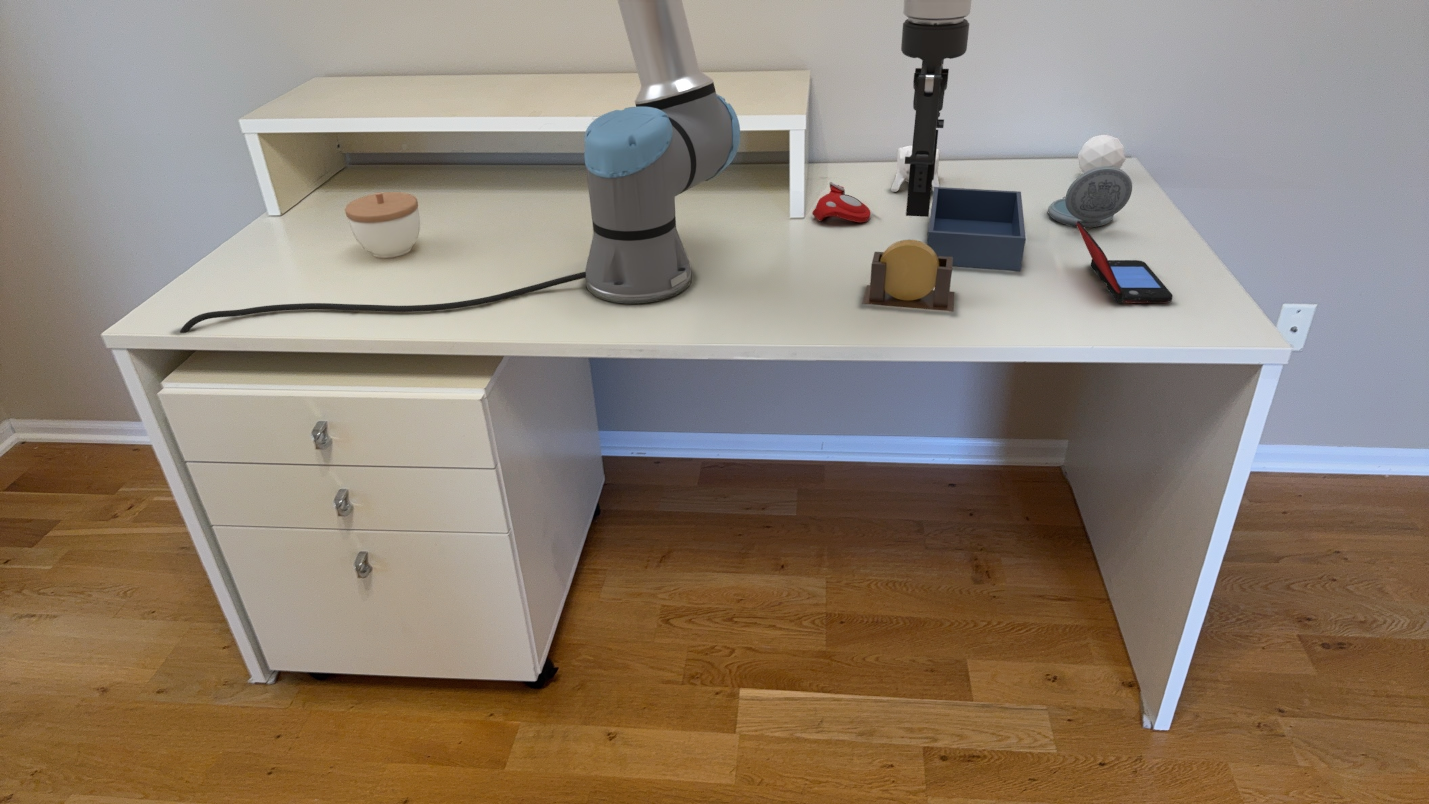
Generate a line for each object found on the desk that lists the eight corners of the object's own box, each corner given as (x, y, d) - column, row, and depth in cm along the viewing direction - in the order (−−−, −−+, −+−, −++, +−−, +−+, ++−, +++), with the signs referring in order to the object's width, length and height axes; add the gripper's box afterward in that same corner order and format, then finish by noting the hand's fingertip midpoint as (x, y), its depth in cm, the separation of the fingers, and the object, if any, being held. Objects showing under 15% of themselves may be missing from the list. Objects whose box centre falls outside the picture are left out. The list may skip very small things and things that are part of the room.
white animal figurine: (891, 193, 168) (890, 190, 154) (895, 145, 166) (894, 138, 152) (938, 195, 166) (942, 192, 152) (943, 147, 165) (947, 139, 150)
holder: (954, 295, 125) (959, 254, 122) (953, 314, 120) (958, 273, 117) (866, 288, 128) (869, 248, 125) (862, 306, 123) (864, 266, 120)
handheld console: (1174, 305, 121) (1188, 253, 117) (1090, 305, 121) (1102, 253, 117) (1142, 266, 131) (1154, 217, 127) (1066, 266, 132) (1075, 218, 128)
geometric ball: (1101, 190, 166) (1133, 153, 163) (1103, 188, 159) (1137, 150, 156) (1067, 164, 167) (1099, 127, 164) (1068, 161, 160) (1101, 123, 157)
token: (938, 300, 122) (939, 244, 118) (878, 300, 124) (876, 245, 120) (939, 294, 123) (939, 238, 119) (879, 294, 126) (878, 240, 121)
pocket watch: (1073, 167, 136) (1048, 138, 148) (1060, 236, 141) (1037, 202, 154) (1142, 167, 135) (1111, 137, 147) (1126, 236, 141) (1098, 202, 153)
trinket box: (354, 244, 146) (340, 188, 141) (422, 233, 150) (410, 177, 145) (359, 269, 138) (343, 210, 133) (431, 256, 141) (418, 198, 136)
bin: (1019, 274, 130) (1025, 238, 127) (924, 267, 133) (928, 231, 130) (1015, 224, 146) (1021, 191, 143) (930, 219, 149) (934, 186, 146)
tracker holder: (885, 212, 149) (840, 211, 143) (874, 235, 151) (830, 235, 146) (841, 176, 156) (797, 174, 150) (832, 199, 159) (788, 197, 153)
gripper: (968, 40, 94) (947, 234, 105) (971, 0, 114) (953, 166, 125) (895, 39, 95) (882, 230, 107) (910, 0, 116) (898, 164, 127)
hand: (920, 196), depth 116 cm, fingers open, 13 cm apart
